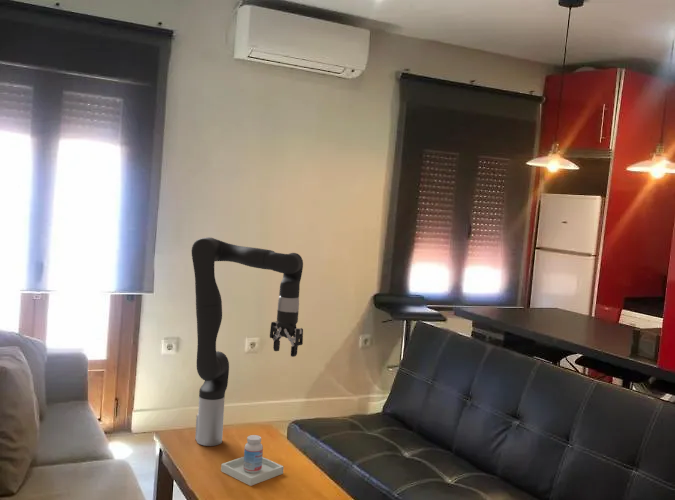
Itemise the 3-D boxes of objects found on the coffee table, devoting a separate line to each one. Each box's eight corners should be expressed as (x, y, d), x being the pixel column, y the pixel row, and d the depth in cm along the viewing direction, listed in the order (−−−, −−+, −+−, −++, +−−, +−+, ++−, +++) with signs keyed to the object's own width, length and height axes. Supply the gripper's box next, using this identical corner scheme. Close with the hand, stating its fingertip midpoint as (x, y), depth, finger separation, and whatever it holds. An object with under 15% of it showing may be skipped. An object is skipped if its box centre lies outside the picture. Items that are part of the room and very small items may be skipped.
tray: (221, 471, 232) (221, 463, 232) (253, 459, 243) (254, 453, 243) (250, 485, 222) (250, 478, 222) (283, 473, 233) (283, 466, 233)
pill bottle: (258, 474, 229) (260, 441, 228) (240, 472, 230) (242, 439, 229) (264, 467, 235) (265, 435, 234) (246, 465, 236) (248, 433, 235)
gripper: (266, 306, 250) (263, 350, 251) (295, 313, 241) (291, 359, 242) (281, 304, 255) (278, 348, 257) (309, 311, 246) (306, 356, 248)
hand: (284, 353), depth 250 cm, fingers open, 8 cm apart
